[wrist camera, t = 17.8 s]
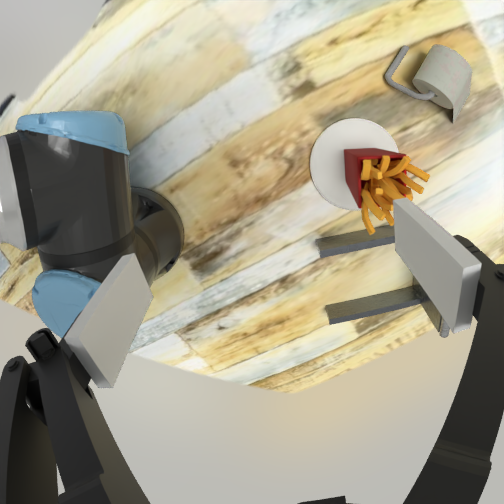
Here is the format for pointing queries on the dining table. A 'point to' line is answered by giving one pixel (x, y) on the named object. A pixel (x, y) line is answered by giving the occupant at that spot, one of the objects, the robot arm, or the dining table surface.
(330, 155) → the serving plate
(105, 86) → the dining table surface
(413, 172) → the french fries
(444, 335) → the gray bracket
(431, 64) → the toilet paper roll
